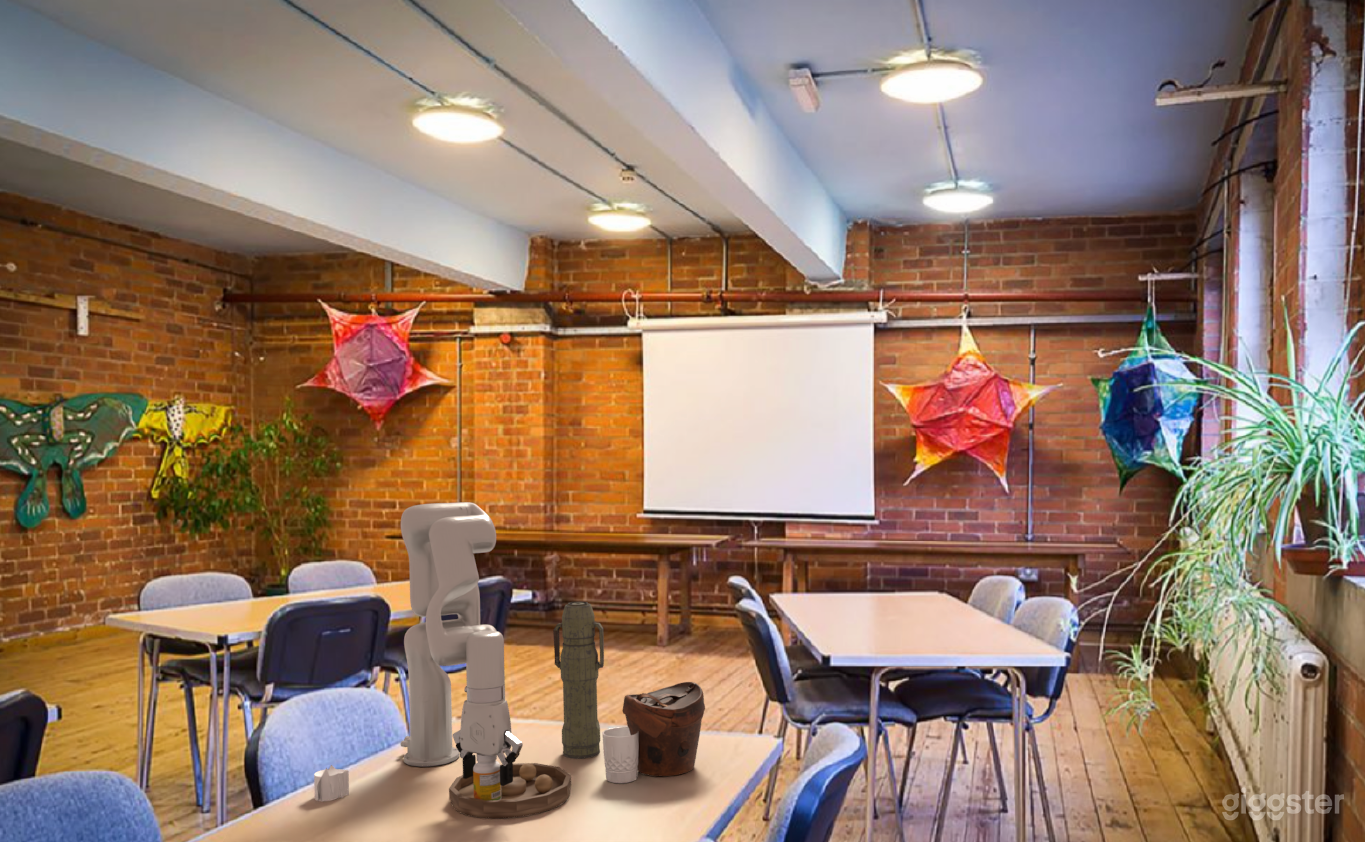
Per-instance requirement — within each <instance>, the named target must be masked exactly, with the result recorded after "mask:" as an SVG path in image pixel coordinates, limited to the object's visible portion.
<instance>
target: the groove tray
mask: <svg viewBox="0 0 1365 842" xmlns="http://www.w3.org/2000/svg"><path fill="white" fill-rule="evenodd" d="M526 763H527V762H525V763H524V762H522V763H520V762H519V763H513V782H511V783H509V784H507V785H505V786H501V800H481V799H476V798H474V782H473V776H472V777H469V778H467V779H464V778H463V774H462V775H460V776H458V777H457V776H456V778H455V779H454V780H453V782H452V784H451V785H450V786H449V788H448V795H449V796H448V798H449V800H450V801H451V802H450V803H451V806H452V808H453V809H454V810H455V811H456V812H458V813H460V814H462V815H465V816H468V817H472V818H477V819H478V818H480V819H491V820H492V819H497V820H499V819H500V820H501V819H513V818H515V819H516V818H523V817H529V816H533V815H538V814H541V813H544V812H545V813H546V812H548V811H550V810H554V809H555V808H558V807H559V806H561V805H562V804H564V803H565V802H567V800H568V799H569V798H570V795H571V786H572V774H570V773H569V772H567V771H565V770H564V769H562V768H561V767H559V766H555V765H550V764H549V765H548V764H543V763H538V762H531V764H533V765H534V766H535V768H536V776H535V777H534V778H533V779H532V780H530V781H525V780H524V779H522V778H521V777H520V774H519V771H520V768H521V766H522V765H524V764H526ZM501 765H503V764H502V763H501ZM543 774H545V775H548V776H550V777H551V779H552V782H553V784H552V788H551V789H550V791H548V792H546V793H540V792H538V791H537V790H536V788H535V781H536V779H537V777H538V776H540V775H543Z"/></svg>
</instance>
